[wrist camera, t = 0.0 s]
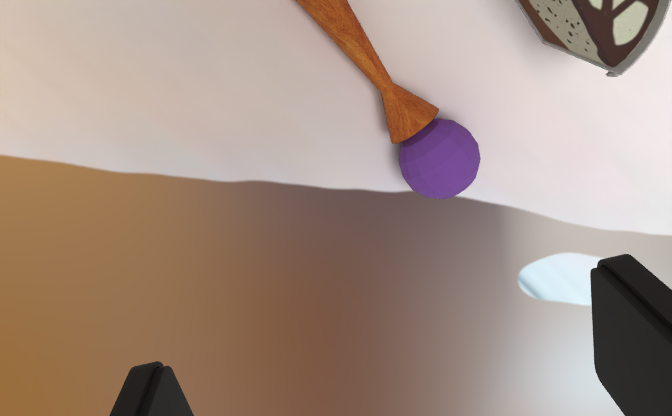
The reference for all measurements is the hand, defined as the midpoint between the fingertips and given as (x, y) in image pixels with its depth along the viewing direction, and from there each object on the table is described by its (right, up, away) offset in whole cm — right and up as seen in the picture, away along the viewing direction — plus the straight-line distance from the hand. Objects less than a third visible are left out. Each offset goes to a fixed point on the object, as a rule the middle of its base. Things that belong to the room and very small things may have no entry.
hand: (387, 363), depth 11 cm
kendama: (+2, +13, +29) cm, 32 cm away
